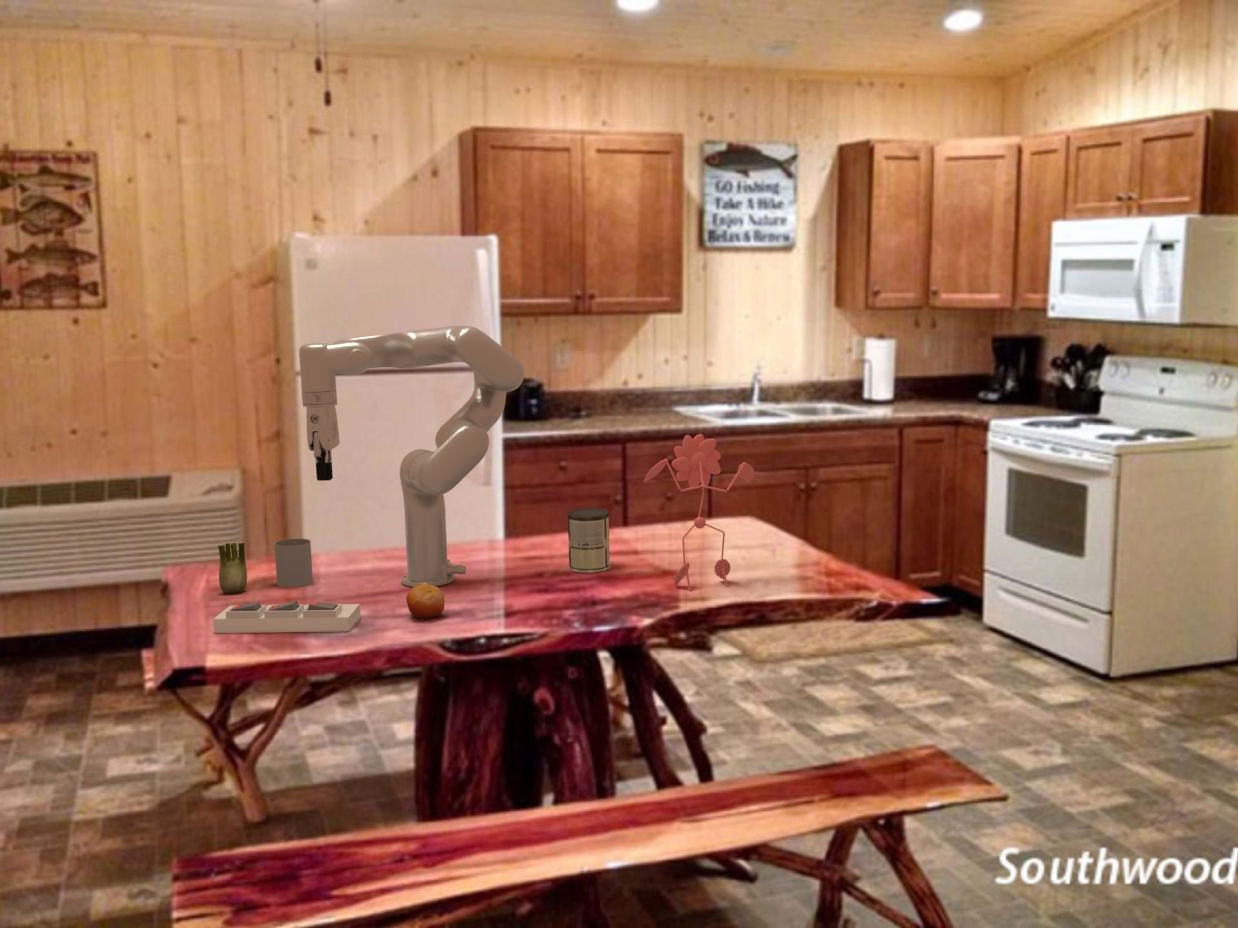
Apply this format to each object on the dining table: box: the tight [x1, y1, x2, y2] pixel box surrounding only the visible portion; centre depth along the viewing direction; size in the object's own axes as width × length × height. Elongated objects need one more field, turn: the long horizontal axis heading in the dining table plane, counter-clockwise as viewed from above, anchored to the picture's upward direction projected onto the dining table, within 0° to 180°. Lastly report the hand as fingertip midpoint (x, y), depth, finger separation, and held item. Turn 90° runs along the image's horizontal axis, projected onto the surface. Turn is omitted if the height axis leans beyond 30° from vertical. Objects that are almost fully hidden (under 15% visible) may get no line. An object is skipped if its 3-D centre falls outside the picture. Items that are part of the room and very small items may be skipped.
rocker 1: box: [231, 601, 261, 611], centre depth 248 cm, size 5×3×1 cm, turn 88°
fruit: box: [405, 583, 445, 621], centre depth 255 cm, size 8×8×8 cm
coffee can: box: [566, 507, 611, 574], centre depth 293 cm, size 10×10×14 cm
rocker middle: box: [270, 599, 299, 611], centre depth 248 cm, size 5×3×1 cm, turn 88°
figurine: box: [643, 433, 755, 592], centre depth 277 cm, size 15×26×35 cm, turn 109°
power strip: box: [213, 603, 362, 634], centre depth 250 cm, size 28×10×4 cm, turn 89°
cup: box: [274, 538, 314, 589], centre depth 285 cm, size 8×8×10 cm
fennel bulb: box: [217, 541, 248, 594], centre depth 277 cm, size 6×5×12 cm
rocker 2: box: [308, 600, 338, 610], centre depth 248 cm, size 5×3×1 cm, turn 89°
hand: (324, 479), depth 269 cm, fingers closed
